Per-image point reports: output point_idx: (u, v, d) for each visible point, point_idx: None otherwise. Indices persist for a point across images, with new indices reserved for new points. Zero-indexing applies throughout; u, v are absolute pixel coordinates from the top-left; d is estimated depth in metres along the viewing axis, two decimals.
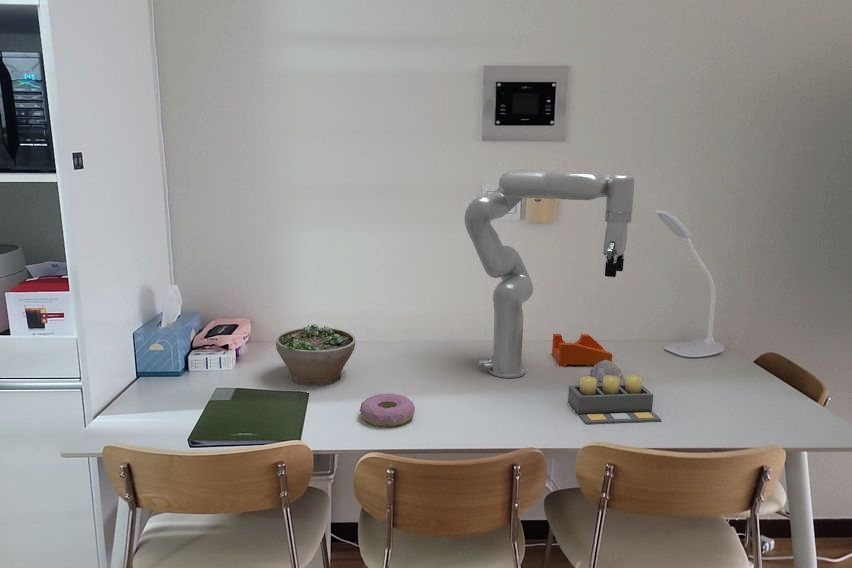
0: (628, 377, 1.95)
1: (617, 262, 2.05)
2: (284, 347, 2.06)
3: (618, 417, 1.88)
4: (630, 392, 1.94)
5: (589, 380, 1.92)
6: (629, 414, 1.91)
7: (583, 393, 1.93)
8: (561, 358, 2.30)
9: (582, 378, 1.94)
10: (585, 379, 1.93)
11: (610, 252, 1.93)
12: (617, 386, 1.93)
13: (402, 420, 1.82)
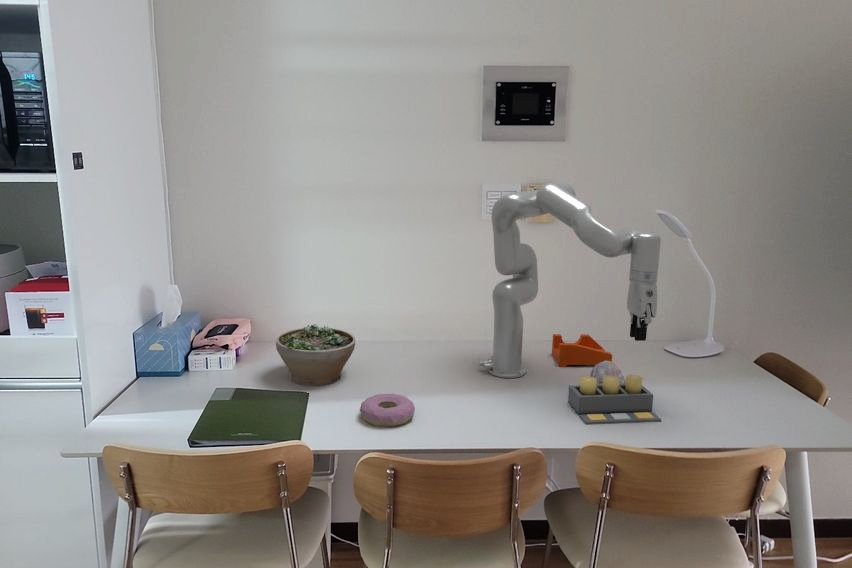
0: (628, 377, 1.95)
1: None
2: (284, 347, 2.06)
3: (618, 417, 1.88)
4: (630, 392, 1.94)
5: (589, 380, 1.92)
6: (629, 414, 1.91)
7: (583, 393, 1.93)
8: (561, 358, 2.29)
9: (582, 378, 1.94)
10: (585, 379, 1.93)
11: None
12: (617, 386, 1.93)
13: (402, 420, 1.82)
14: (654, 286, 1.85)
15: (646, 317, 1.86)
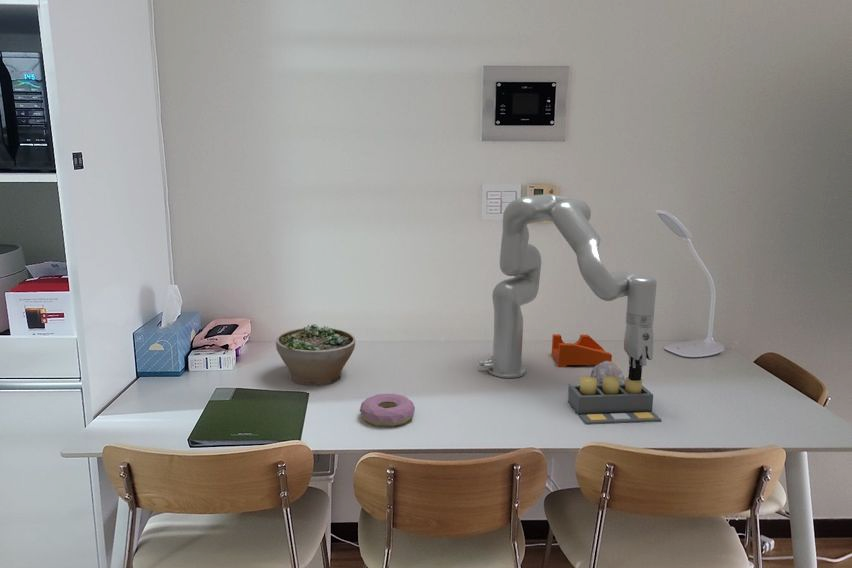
0: (628, 379, 1.95)
1: None
2: (284, 347, 2.06)
3: (618, 417, 1.88)
4: None
5: (589, 380, 1.92)
6: (629, 414, 1.91)
7: (583, 393, 1.93)
8: (560, 359, 2.29)
9: (582, 378, 1.94)
10: (585, 379, 1.93)
11: None
12: (617, 386, 1.93)
13: (402, 420, 1.82)
14: (650, 329, 1.88)
15: (641, 360, 1.89)
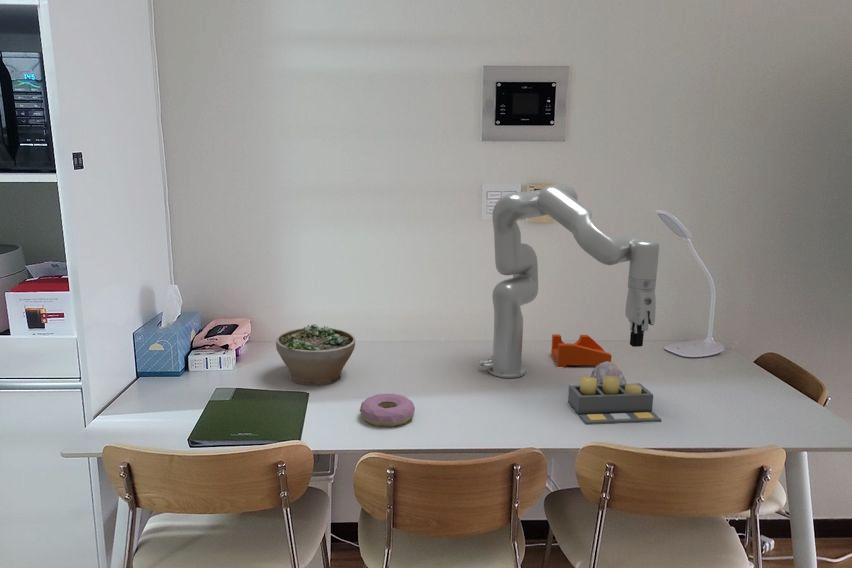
0: (627, 386, 1.96)
1: None
2: (284, 347, 2.06)
3: (618, 417, 1.88)
4: None
5: (589, 380, 1.92)
6: (629, 414, 1.91)
7: (583, 393, 1.93)
8: (560, 359, 2.29)
9: (582, 378, 1.94)
10: (585, 379, 1.93)
11: None
12: (617, 386, 1.93)
13: (402, 420, 1.82)
14: (652, 294, 1.85)
15: (643, 325, 1.87)
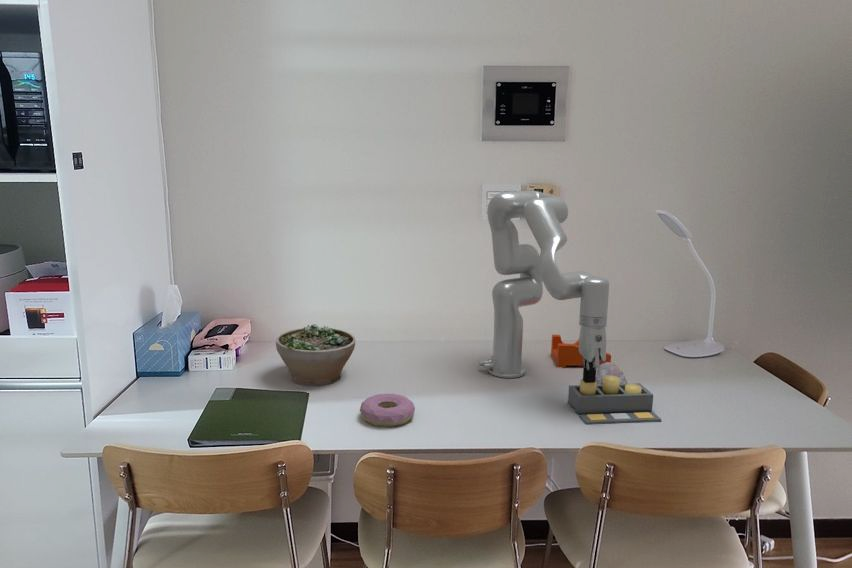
0: (627, 386, 1.96)
1: None
2: (284, 347, 2.06)
3: (618, 417, 1.88)
4: None
5: (589, 383, 1.92)
6: (629, 414, 1.91)
7: None
8: (559, 359, 2.29)
9: (582, 381, 1.94)
10: None
11: None
12: (617, 386, 1.93)
13: (402, 420, 1.82)
14: (603, 331, 1.86)
15: (594, 362, 1.88)
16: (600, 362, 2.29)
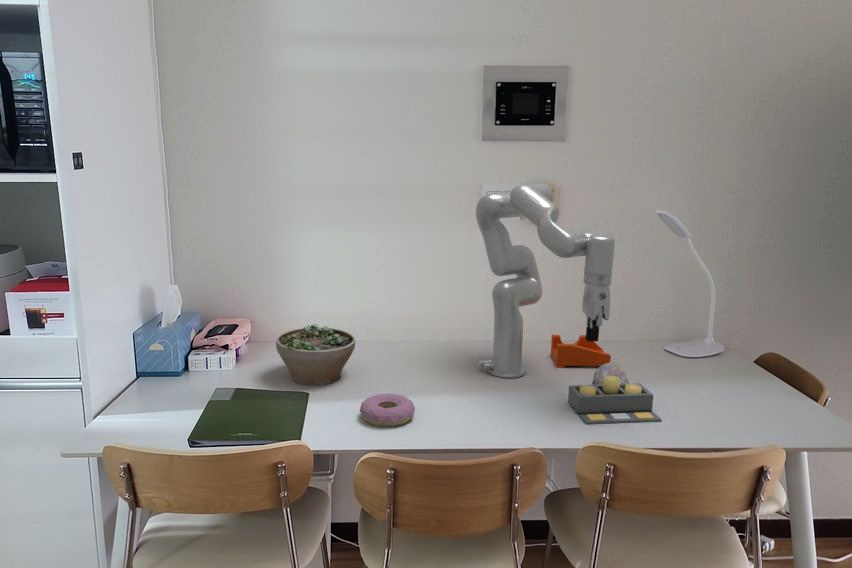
0: (627, 386, 1.96)
1: None
2: (284, 347, 2.06)
3: (618, 417, 1.88)
4: None
5: (588, 389, 1.93)
6: (629, 414, 1.91)
7: None
8: (559, 359, 2.29)
9: (581, 387, 1.94)
10: (584, 388, 1.94)
11: None
12: (617, 386, 1.93)
13: (402, 420, 1.82)
14: (607, 289, 1.85)
15: (597, 320, 1.87)
16: (600, 362, 2.29)
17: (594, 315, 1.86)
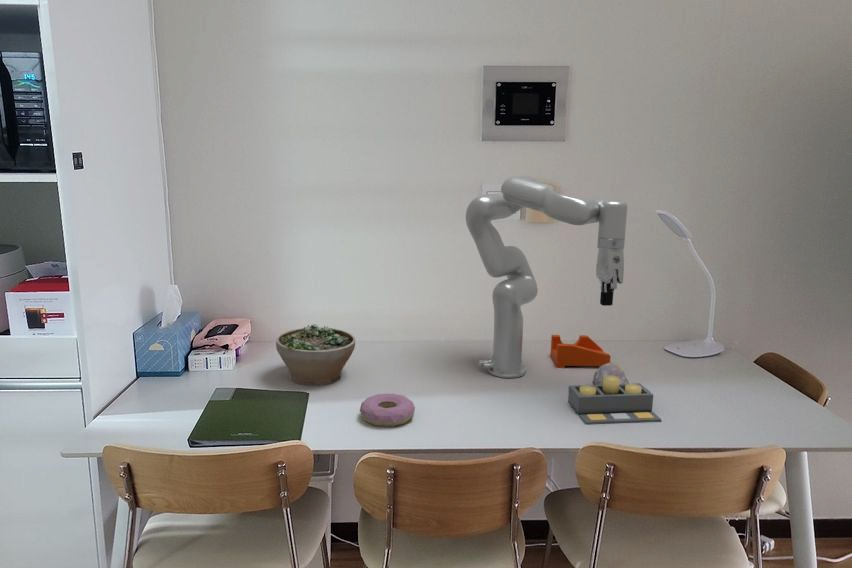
0: (627, 386, 1.96)
1: None
2: (284, 347, 2.06)
3: (618, 417, 1.88)
4: None
5: (588, 389, 1.93)
6: (629, 414, 1.91)
7: None
8: (559, 359, 2.29)
9: (581, 387, 1.94)
10: (584, 388, 1.94)
11: None
12: (617, 386, 1.93)
13: (402, 420, 1.82)
14: (621, 252, 1.90)
15: (612, 283, 1.92)
16: (599, 362, 2.29)
17: (609, 278, 1.91)
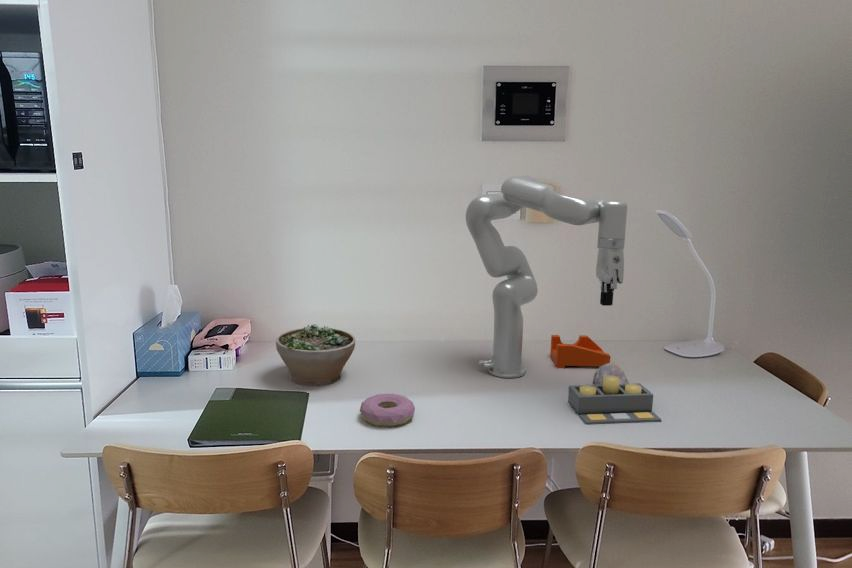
0: (627, 386, 1.96)
1: None
2: (284, 347, 2.06)
3: (618, 417, 1.88)
4: None
5: (588, 389, 1.93)
6: (629, 414, 1.91)
7: None
8: (559, 359, 2.28)
9: (581, 387, 1.94)
10: (584, 388, 1.94)
11: None
12: (617, 386, 1.93)
13: (402, 420, 1.82)
14: (621, 252, 1.90)
15: (612, 283, 1.92)
16: (599, 362, 2.29)
17: (609, 278, 1.91)
